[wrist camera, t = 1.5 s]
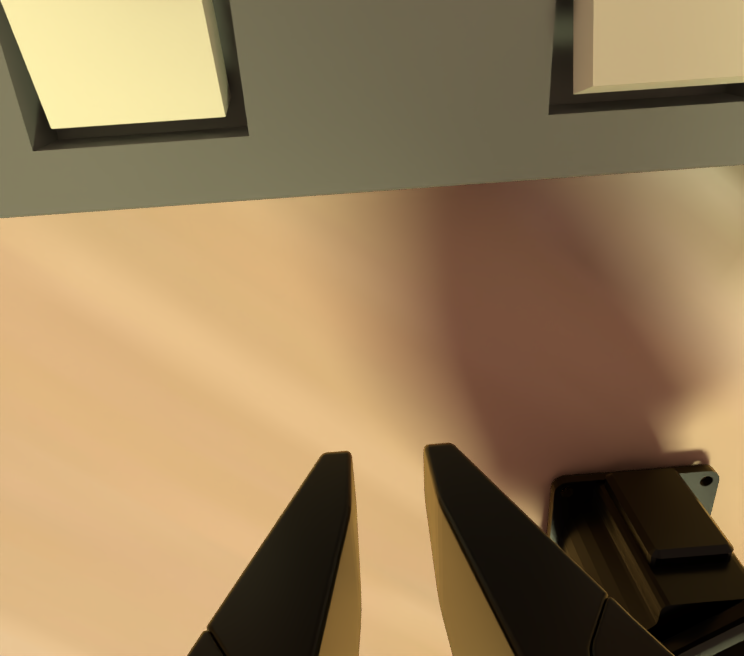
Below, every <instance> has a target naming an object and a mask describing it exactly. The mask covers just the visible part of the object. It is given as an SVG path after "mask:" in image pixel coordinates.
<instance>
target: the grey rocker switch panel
mask: <svg viewBox="0 0 744 656" xmlns="http://www.w3.org/2000/svg"><path fill="white" fill-rule="evenodd" d="M212 2H213V7H214V12H215V17H216V22H217V27H218V32H219V38H220V43H221V48H222V53H223V58H224V63H225V68H226V74H227V79H228V84H229V89H230V94H231V100H230V103H229V107H228V110H227V113H226V117H216V118H202V119H188V120H173V121H159V122H145V123H130V124H116V125H102V126H87V127H73V128H59V129H51V127H50V124H49V122H48V119H47V117H46V114H45V111H44V109H43V106H42V104H41V101H40V99H39V96H38V94H37V91H36V89H35V86H34V84H33V81H32V79H31V76H30V74H29V71H28V69H27V66H26V64H25V61H24V59H23V56H22V53H21V51H20V48H19V46H18V43H17V41H16V38H15V36H14V33H13V31H12V28H11V26H10V23H9V21H8V18H7V16H6V13H5V11H4V8H3V6H2V3H1V0H0V218H10V217H24V216H38V215H52V214H66V213H79V212H93V211H107V210H121V209H135V208H149V207H163V206H177V205H191V204H205V203H219V202H233V201H247V200H261V199H274V198H288V197H302V196H316V195H330V194H344V193H358V192H372V191H386V190H400V189H414V188H428V187H442V186H456V185H469V184H483V183H497V182H511V181H525V180H539V179H553V178H567V177H581V176H595V175H609V174H623V173H637V172H651V171H664V170H678V169H692V168H706V167H720V166H734V165H744V83H729V84H715V85H701V86H686V87H672V88H658V89H643V90H629V91H615V92H600V93H586V94H573V0H212Z"/></svg>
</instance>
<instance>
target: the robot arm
mask: <svg viewBox="0 0 744 656" xmlns="http://www.w3.org/2000/svg"><path fill="white" fill-rule="evenodd" d="M423 459H424V492H425V503H426V511H427V518H428V526H429V533H430V541H431V548H432V556H433V563H434V570H435V578H436V585H437V591H438V597H439V603H440V607H441V612H442V616H443V620H444V624H445V628H446V632H447V636H448V639H449V643H450V647H451V651H452V655H453V656H744V566H743V565H742V564H741V562H740V561H739V560H738V558H737V557H736V555H735V554H734V553H733V550H734V549H733V546H732V545H731V543H730V542H729V540H728V539H727V538H726V536H725V535H724V534H723V532H722V531H721V530H720V528H719V527H718V526H717V524H716V523H715V521H714V520H713V519H712V517H711V516H710V515H711V511H712V507H713V503H714V499H715V495H716V491H717V487H718V483H719V476H718V474H717V473H716V471H715V470H714V469H713V468H712V467H711V466H709V465H692V466H679V467H666V468H654V469H641V470H628V471H616V472H603V473H591V474H578V475H565V476H561V477H558V478H557V479H555V480H554V481H553V482H552V485H551V492H550V503H549V514H548V525H547V534H546V533H545V532H544V531H543V530H542V529H541V528H540V527H539V526H538V525H537V524H535V523H534V522H533V521H532V520H531V519H530V518H529V517H528V516H527V515H526V514H525V513H524V512H523V511H522V510H521V509H520V508H519V507H518V506H517V505H516V504H515V503H514V502H513V501H512V500H511V499H510V498H509V497H508V496H507V495H505V494H504V493H503V492H502V491H501V490H500V489H499V488H498V487H497V486H496V485H495V484H494V483H493V482H492V481H491V480H490V479H489V478H488V477H487V476H486V475H485V474H484V473H483V472H482V471H481V470H480V469H479V468H478V467H477V466H475V465H474V464H473V463H472V462H471V461H470V460H469V459H468V458H467V457H466V456H465V455H464V454H463V453H462V452H461V451H460V450H459V449H458V448H457V447H456V446H455V445H453V444H451V443H441V444H429V445H426V446H425V447H424V452H423ZM704 477H705V478H704ZM702 478H704V479H702ZM566 487H569V488H568V489H567V490H562V489H564V488H566ZM360 630H361V581H360V562H359V543H358V524H357V506H356V494H355V483H354V472H353V462H352V455H351V453H350V452H348V451H339V452H327V453H324V454H322V455H321V456H320V458H319V459H318V461H317V462H316V464H315V465H314V467H313V468H312V470H311V471H310V473H309V474H308V476H307V477H306V479H305V480H304V482H303V483H302V485H301V486H300V488H299V489H298V491H297V492H296V494H295V495H294V497H293V498H292V500H291V501H290V503H289V504H288V506H287V507H286V509H285V510H284V512H283V513H282V515H281V516H280V518H279V519H278V521H277V522H276V524H275V525H274V527H273V528H272V530H271V531H270V533H269V534H268V536H267V537H266V539H265V540H264V542H263V543H262V545H261V546H260V548H259V549H258V551H257V552H256V554H255V555H254V557H253V558H252V560H251V561H250V563H249V564H248V566H247V567H246V569H245V570H244V572H243V573H242V575H241V576H240V578H239V579H238V581H237V582H236V584H235V585H234V587H233V588H232V590H231V591H230V593H229V594H228V596H227V597H226V599H225V600H224V602H223V603H222V605H221V606H220V607H219V609H218V610H217V612H216V613H215V615H214V616H213V618H212V619H211V621H210V622H209V624H208V625H207V631H203V632H202V634H201V635H200V637H199V638H198V640H197V641H196V643H195V644H194V646H193V647H192V649H191V651H190V652H189V654H188V655H187V656H359V644H360Z"/></svg>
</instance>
